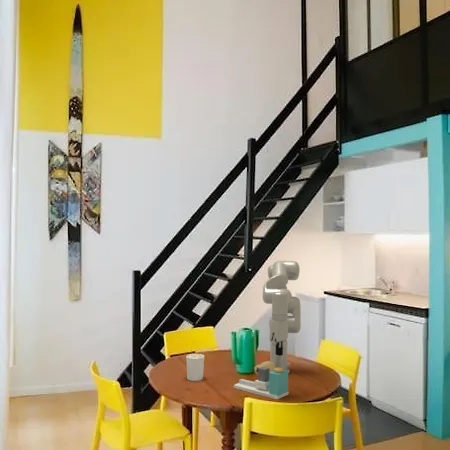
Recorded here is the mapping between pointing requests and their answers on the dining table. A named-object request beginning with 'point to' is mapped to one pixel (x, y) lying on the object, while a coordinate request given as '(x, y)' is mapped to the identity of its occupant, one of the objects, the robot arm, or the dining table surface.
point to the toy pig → (265, 364)
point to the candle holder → (195, 366)
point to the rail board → (258, 391)
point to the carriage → (262, 378)
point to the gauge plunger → (279, 370)
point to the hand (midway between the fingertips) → (279, 354)
